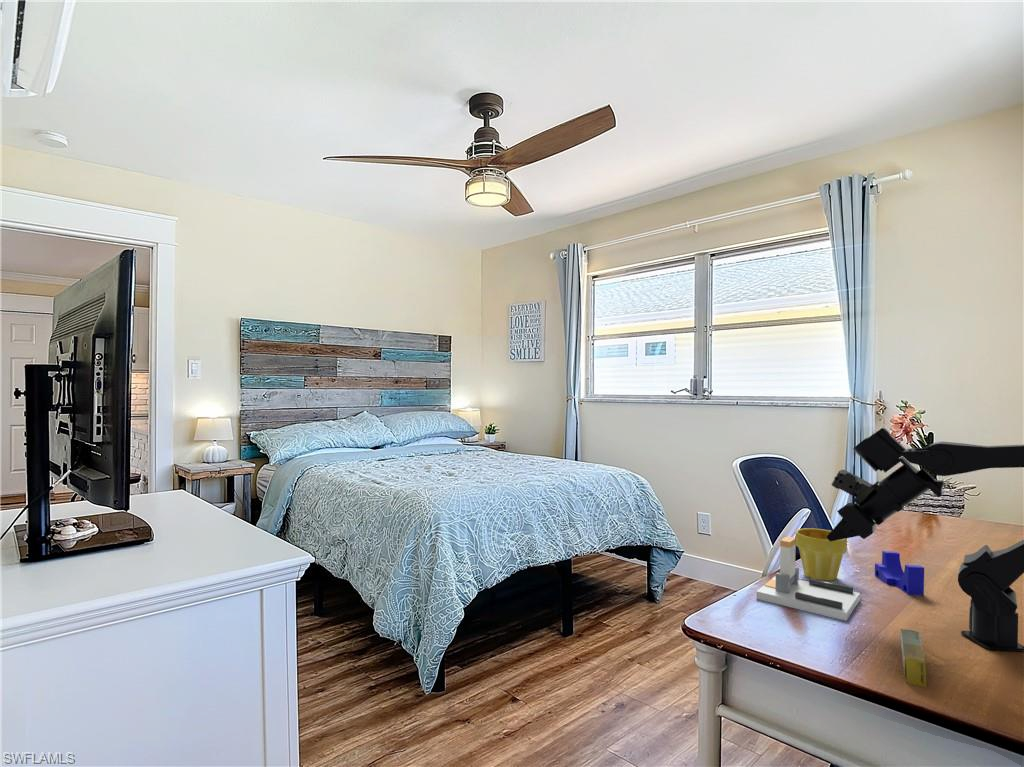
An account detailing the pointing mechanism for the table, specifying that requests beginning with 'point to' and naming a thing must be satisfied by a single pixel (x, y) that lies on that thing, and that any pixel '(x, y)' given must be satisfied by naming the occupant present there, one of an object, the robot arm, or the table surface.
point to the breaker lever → (788, 557)
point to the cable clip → (900, 574)
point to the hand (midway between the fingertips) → (828, 539)
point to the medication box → (913, 658)
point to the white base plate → (810, 595)
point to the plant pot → (820, 553)
